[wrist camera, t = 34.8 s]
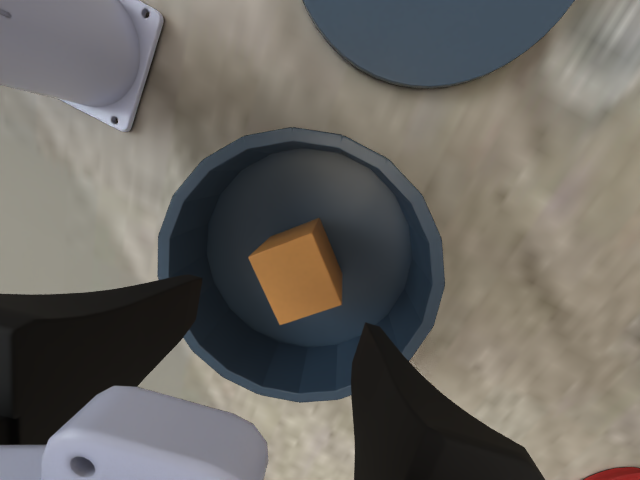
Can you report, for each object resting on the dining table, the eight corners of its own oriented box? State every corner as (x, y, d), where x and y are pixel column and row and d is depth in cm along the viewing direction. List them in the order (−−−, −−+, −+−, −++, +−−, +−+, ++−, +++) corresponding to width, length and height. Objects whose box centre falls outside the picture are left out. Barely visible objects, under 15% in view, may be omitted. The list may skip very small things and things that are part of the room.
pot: (172, 294, 24) (123, 329, 19) (251, 94, 20) (218, 68, 15) (352, 382, 24) (353, 441, 19) (465, 207, 20) (507, 221, 15)
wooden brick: (293, 291, 22) (279, 326, 18) (269, 236, 22) (247, 257, 17) (342, 274, 22) (342, 305, 17) (319, 217, 21) (312, 232, 16)
